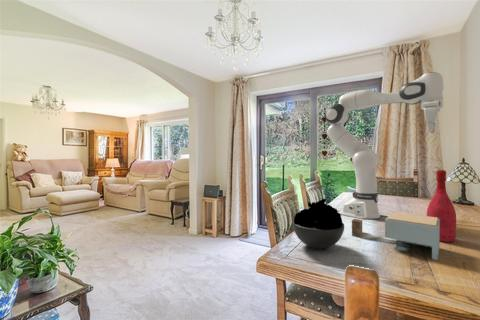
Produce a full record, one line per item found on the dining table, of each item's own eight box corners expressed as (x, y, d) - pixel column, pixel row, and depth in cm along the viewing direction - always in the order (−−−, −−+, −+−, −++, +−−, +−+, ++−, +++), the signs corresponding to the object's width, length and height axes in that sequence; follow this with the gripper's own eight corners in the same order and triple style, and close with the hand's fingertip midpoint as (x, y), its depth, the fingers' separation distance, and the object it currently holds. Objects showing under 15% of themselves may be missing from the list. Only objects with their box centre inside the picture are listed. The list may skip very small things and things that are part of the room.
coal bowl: (315, 261, 84) (314, 208, 84) (283, 242, 103) (282, 199, 102) (356, 251, 92) (356, 203, 92) (319, 235, 111) (319, 195, 110)
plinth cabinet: (385, 248, 95) (384, 218, 94) (391, 238, 105) (391, 211, 105) (437, 260, 84) (437, 225, 84) (439, 248, 94) (439, 217, 94)
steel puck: (392, 250, 93) (392, 245, 93) (395, 246, 97) (395, 241, 97) (408, 253, 90) (408, 248, 90) (410, 249, 94) (410, 244, 94)
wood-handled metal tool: (351, 235, 110) (351, 220, 110) (354, 233, 113) (354, 218, 113) (396, 244, 99) (396, 227, 98) (398, 242, 101) (398, 225, 101)
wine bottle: (449, 236, 107) (449, 169, 106) (461, 244, 98) (461, 170, 97) (422, 234, 110) (423, 169, 110) (432, 241, 101) (432, 170, 100)
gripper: (425, 108, 132) (425, 133, 132) (422, 103, 116) (421, 131, 117) (440, 107, 127) (440, 133, 128) (438, 101, 112) (438, 130, 112)
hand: (431, 132), depth 122 cm, fingers open, 8 cm apart
